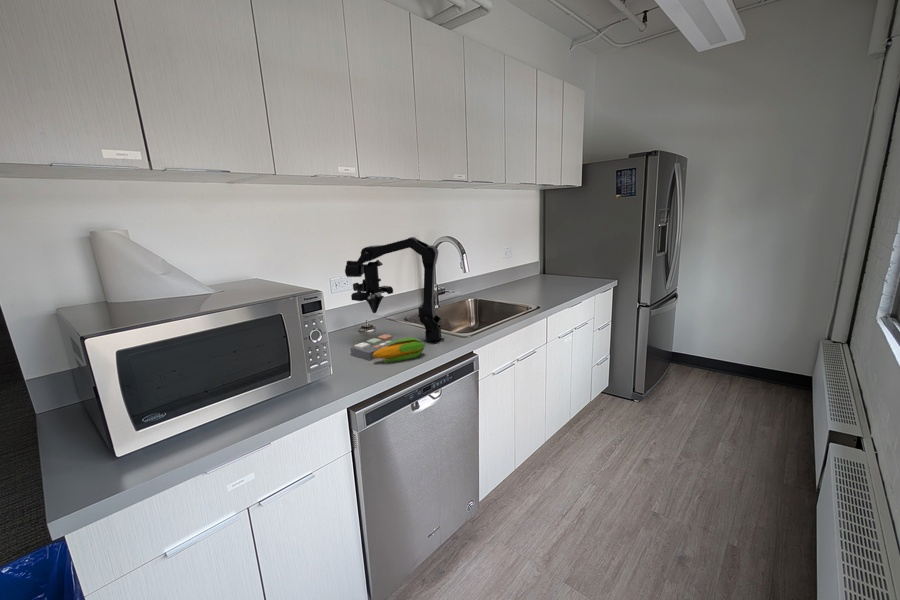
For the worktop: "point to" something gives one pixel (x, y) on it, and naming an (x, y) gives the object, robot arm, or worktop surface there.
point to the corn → (400, 350)
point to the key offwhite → (362, 346)
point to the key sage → (373, 341)
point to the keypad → (371, 349)
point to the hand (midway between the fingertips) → (374, 313)
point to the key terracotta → (385, 337)
